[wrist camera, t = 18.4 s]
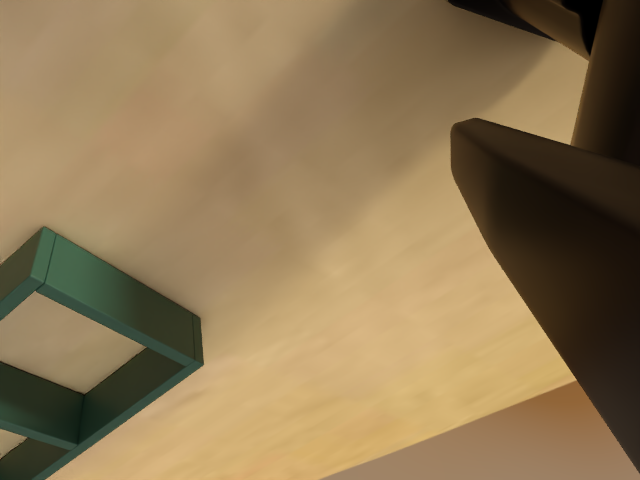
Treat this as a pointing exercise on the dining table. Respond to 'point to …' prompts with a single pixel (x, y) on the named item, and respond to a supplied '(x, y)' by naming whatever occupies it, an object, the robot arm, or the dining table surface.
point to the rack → (113, 393)
